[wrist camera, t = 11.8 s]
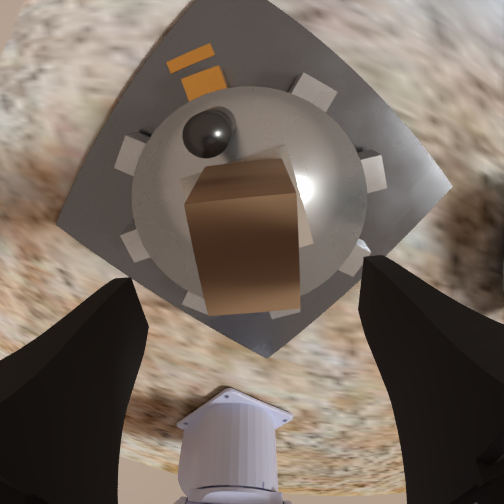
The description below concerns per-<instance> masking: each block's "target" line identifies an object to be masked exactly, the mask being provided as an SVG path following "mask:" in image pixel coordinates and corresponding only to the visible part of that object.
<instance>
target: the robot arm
mask: <svg viewBox="0 0 504 504" xmlns="http://www.w3.org/2000/svg"><path fill="white" fill-rule="evenodd" d="M358 311H359V315H360V319H361V323H362V326H363V330H364V333H365V337H366V339H367V342H368V344H369V347H370V349H371V352H372V354H373V356H374V359H375V361H376V364H377V366H378V369H379V371H380V374H381V376H382V379H383V381H384V384H385V386H386V389H387V392H388V394H389V398H390V401H391V404H392V408H393V412H394V416H395V420H396V425H397V429H398V434H399V440H400V445H401V451H402V457H403V464H404V472H405V481H406V494H407V504H504V324H501V323H499V322H497V321H494V320H492V319H490V318H488V317H486V316H484V315H482V314H480V313H478V312H476V311H474V310H472V309H470V308H468V307H466V306H464V305H462V304H460V303H459V302H457V301H455V300H454V299H452V298H450V297H449V296H447V295H445V294H443V293H442V292H440V291H439V290H437V289H435V288H434V287H432V286H431V285H429V284H428V283H426V282H424V281H423V280H421V279H420V278H418V277H417V276H415V275H414V274H412V273H411V272H409V271H408V270H406V269H405V268H403V267H402V266H400V265H399V264H397V263H395V262H394V261H392V260H390V259H389V258H387V257H385V256H383V255H375V256H365V257H363V268H362V279H361V289H360V298H359V306H358ZM148 328H149V325H148V323H147V320H146V318H145V315H144V312H143V310H142V307H141V304H140V301H139V299H138V296H137V293H136V290H135V287H134V284H133V281H132V279H131V277H128V278H115V279H113V280H111V281H110V282H108V283H107V284H105V285H104V286H103V287H101V288H100V289H99V290H97V291H96V292H95V293H94V294H92V295H91V296H90V297H88V298H87V299H86V300H85V301H84V302H82V303H81V304H80V305H79V306H77V307H76V308H75V309H74V310H72V311H71V312H70V313H69V314H67V315H66V316H65V317H64V318H62V319H61V320H60V321H58V322H57V323H56V324H55V325H53V326H52V327H51V328H49V329H48V330H47V331H46V332H44V333H43V334H41V335H40V336H39V337H37V338H36V339H34V340H33V341H31V342H30V343H28V344H27V345H25V346H24V347H22V348H21V349H19V350H18V351H16V352H14V353H12V354H11V355H9V356H7V357H5V358H4V359H2V360H0V504H118V496H117V495H118V494H117V493H118V492H117V491H118V489H117V488H118V464H119V454H120V444H121V437H122V430H123V424H124V418H125V414H126V410H127V406H128V403H129V400H130V396H131V393H132V390H133V387H134V383H135V380H136V377H137V374H138V371H139V368H140V364H141V361H142V358H143V355H144V351H145V346H146V340H147V334H148ZM292 419H293V414H291V413H289V412H286V411H284V410H281V409H279V408H276V407H274V406H271V405H269V404H267V403H264V402H262V401H259V400H257V399H255V398H253V397H250V396H248V395H246V394H244V393H241V392H239V391H237V390H235V389H232V388H226V389H225V390H223V391H222V392H220V393H219V394H218V395H216V396H215V397H213V398H212V399H211V400H209V401H208V402H206V403H205V404H204V405H202V406H201V407H199V408H198V409H196V410H195V411H193V412H192V413H190V414H189V415H188V416H186V417H185V418H183V419H182V420H180V421H179V422H177V427H178V428H180V429H183V430H184V433H183V440H182V447H181V454H180V461H179V468H178V481H179V484H180V487H181V489H182V491H183V492H184V494H185V495H186V496H187V497H180V498H179V500H177V501H176V502H175V503H174V504H292V503H291V502H290V501H283V497H282V492H278V480H277V460H276V441H275V429H276V428H278V427H280V426H282V425H283V424H285V423H287V422H289V421H291V420H292Z"/></svg>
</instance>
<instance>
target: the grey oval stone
mask: <svg viewBox="0 0 504 504" xmlns="http://www.w3.org/2000/svg"><path fill="white" fill-rule="evenodd" d="M503 290H504V260H503Z"/></svg>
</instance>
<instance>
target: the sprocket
mask: <svg viewBox="0 0 504 504" xmlns="http://www.w3.org/2000/svg"><path fill="white" fill-rule="evenodd" d="M181 81H182V84H183V86H184V89H185V92H186V94H187V97H188V100H189V102H188V103H186V104H185V105H183V106H182V107H180V108H179V109H177V110H176V111H175V112H173V113H172V114H171V115H170V116H169V117H167V118H166V119H165V120H164V121H163V122H162V123H161V124H160V126H159V127H158V128H157V129H156V130H155V131H154V132H153V134H152V135H151V137H148V136H146V135H143V134H141V133H139V132H136V131H134V132H132V133H129V134H127V135H125V138H124V141H123V143H122V146H121V149H120V152H119V155H118V158H117V161H116V164H115V167H114V168H115V169H118V170H120V171H122V172H125V173H127V174H129V175H132V176H134V177H133V183H132V210H133V218H134V221H135V222H134V223H131V224H129V225H128V226H127V227H126V228H125V229H124V231H123V232H122V233H121V235H120V237H121V239H122V241H123V242H124V244H125V246H126V248H127V250H128V252H129V254H130V256H131V257H132V259H133V261H134V263H135V262H138V261H141V260H144V259H147V258H150V257H151V258H152V260H153V261H154V262H155V264H156V265H157V266H158V267H159V268H160V269H161V270H162V271H163V272H164V273H165V274H166V275H167V276H168V277H169V278H170V279H171V280H173V281H174V282H175V283H176V284H178V285H179V286H181V287H182V288H184V289H185V290H186V291H185V294H184V298H183V302H182V305H185V306H187V307H189V308H192V309H194V310H197V311H199V312H202V313H204V314H207V315H208V313H207V309H206V305H205V300H204V296H203V292H202V287H201V283H200V279H199V274H198V270H197V265H196V261H195V256H194V251H193V247H192V242H191V237H190V232H189V228H188V223H187V218H186V213H185V207H184V203H185V202H186V200H187V198H188V196H189V194H190V192H191V191H192V189H193V187H194V185H195V183H196V182H197V180H198V178H199V176H200V175H201V173H202V171H203V169H204V168H205V166H213V165H221V164H230V163H239V162H248V161H259V160H270V159H282V160H283V163H284V165H285V167H286V170H287V172H288V174H289V177H290V179H291V181H292V184H293V186H294V188H295V191H296V194H297V213H298V236H299V265H300V296H302V295H304V294H307V293H308V292H310V291H312V290H313V289H315V288H317V287H319V286H320V285H321V284H322V283H324V282H325V281H326V280H328V279H329V278H330V277H331V276H332V275H333V274H334V273H335V272H336V271H337V270H339V271H342V272H344V273H346V274H348V275H350V276H352V277H354V275H355V274H356V273H357V271H358V270H359V269H360V267H361V266H362V265H363V257H365V256H369V255H370V254H371V251H370V250H369V248H368V247H367V245H366V244H365V242H364V241H363V240H361V239H359V237H360V234H361V231H362V228H363V225H364V221H365V216H366V210H367V193H371V192H374V191H378V190H382V189H386V188H387V184H386V178H385V172H384V166H383V161H382V155H381V154H379V153H377V152H376V151H374V150H372V149H371V150H367V151H363V152H358V153H357V151H356V149H355V147H354V145H353V144H352V142H351V140H350V139H349V137H348V136H347V134H346V133H345V132H344V131H343V129H342V128H341V127H340V126H339V125H338V123H337V122H336V121H334V120H333V119H332V118H331V117H330V116H329V115H328V114H327V113H326V111H327V110H328V108H329V106H330V104H331V103H332V101H333V99H334V97H335V96H336V94H337V91H335V90H333V89H332V88H330V87H328V86H327V85H325V84H323V83H322V82H320V81H318V80H316V79H315V78H313V77H311V76H309V75H307V74H306V73H304V72H303V73H300V74H299V75H298V76H297V78H296V80H295V82H294V83H293V85H292V87H291V89H290V90H289V92H285V91H281V90H278V89H272V88H266V87H257V86H241V87H233V88H229V87H228V84H227V82H226V79H225V76H224V73H223V71H222V68H221V67H220V66H219V65H218V66H215V67H212V68H209V69H207V70H204V71H201V72H198V73H196V74H193V75H190V76H188V77H185V78H183V79H181ZM298 312H301V311H300V309H290V310H279V311H269V313H270V316H271V318H272V319H275V318H279V317H283V316H287V315H290V314H294V313H298Z"/></svg>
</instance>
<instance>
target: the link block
mask: <svg viewBox="0 0 504 504" xmlns="http://www.w3.org/2000/svg"><path fill="white" fill-rule="evenodd" d="M184 207H185V213H186V218H187V223H188V228H189V232H190V237H191V242H192V247H193V251H194V256H195V261H196V265H197V270H198V274H199V279H200V283H201V287H202V292H203V296H204V300H205V305H206V309H207V313H208V316H215V315H230V314H243V313H256V312H268V311H279V310H290V309H300V265H299V236H298V213H297V194H296V191H295V188H294V186H293V184H292V181H291V179H290V177H289V174H288V172H287V170H286V167H285V165H284V163H283V160H282V159H270V160H259V161H248V162H239V163H230V164H221V165H213V166H205V168H204V169H203V171H202V173H201V175H200V176H199V178H198V180H197V182H196V183H195V185H194V187H193V189H192V191H191V192H190V194H189V196H188V198H187V200H186V202H185V203H184Z"/></svg>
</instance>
